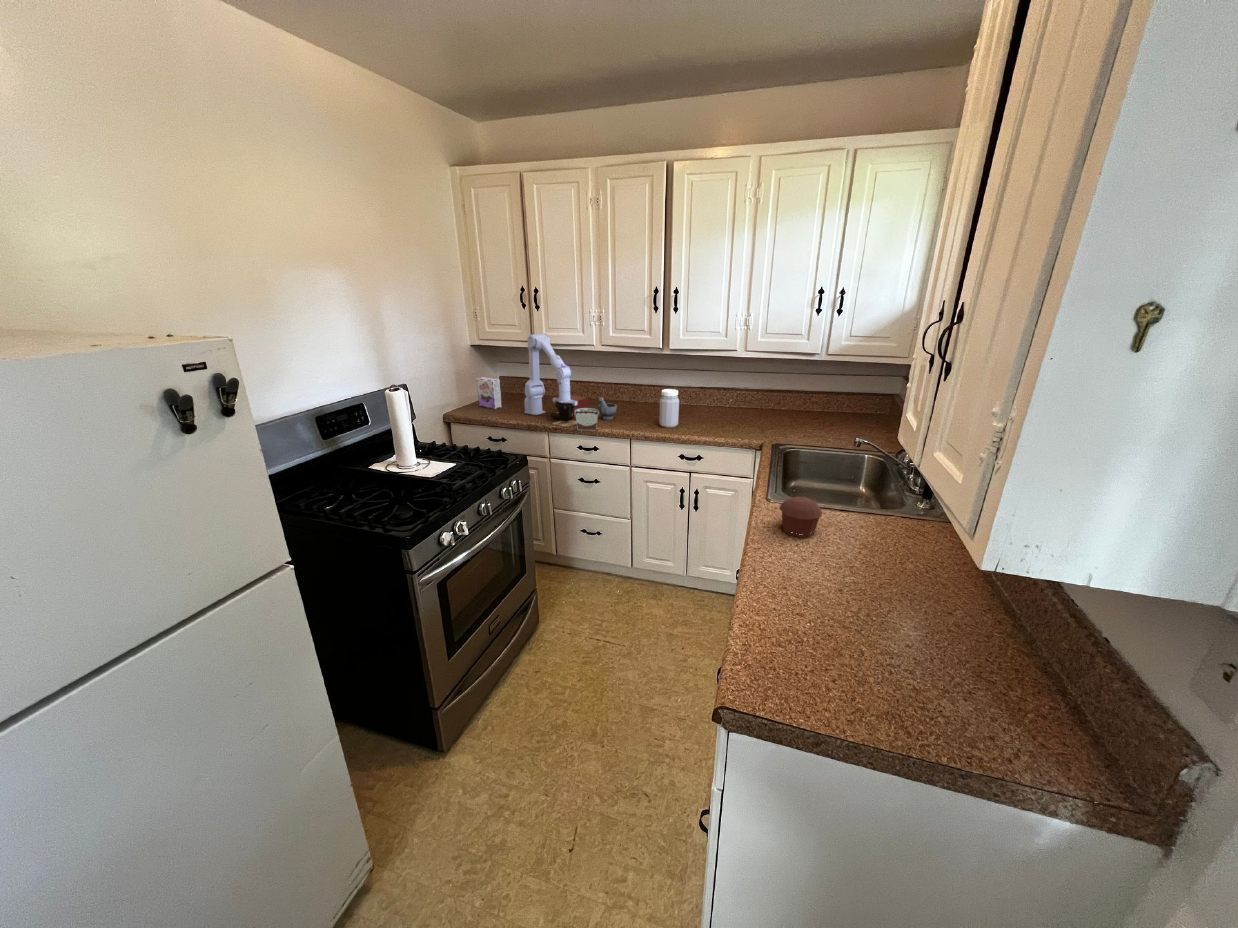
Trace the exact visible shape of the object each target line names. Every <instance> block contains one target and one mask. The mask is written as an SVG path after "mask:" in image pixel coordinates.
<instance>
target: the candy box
mask: <svg viewBox="0 0 1238 928" xmlns="http://www.w3.org/2000/svg"><path fill="white" fill-rule="evenodd" d="M475 379H476V380H475V381H476V389H477V399H478V406H479V407H483V408H487V409H493V410H497V409H501V408H503V405H502V394H501V393H502V391H501V380H500V379H498V378H491V377H487V376H486V377H485V376H481V377H476V378H475Z"/></svg>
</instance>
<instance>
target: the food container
mask: <svg viewBox="0 0 1238 928" xmlns="http://www.w3.org/2000/svg"><path fill="white" fill-rule="evenodd" d="M574 414H575V415H576V418H575V421H576V422H577V424H576V428H577V429H576V430H577V431H591V432H592V431H593V432H596V431H597V429H598V418H599V415H600V412H599V409H597V408H594V407H587V408H580V409H576V410H575V412H574Z"/></svg>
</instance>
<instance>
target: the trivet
mask: <svg viewBox="0 0 1238 928" xmlns="http://www.w3.org/2000/svg"><path fill="white" fill-rule="evenodd" d="M551 425H554V426H558V427H559V426H560V427H564V428H570V427H572V426H575V425H577V422H576V420H574V419H572V420H570V421H567V422H565V421H560V420H557V421H555V422H552V423H551Z"/></svg>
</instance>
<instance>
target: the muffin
mask: <svg viewBox="0 0 1238 928" xmlns="http://www.w3.org/2000/svg"><path fill="white" fill-rule="evenodd" d="M779 510H780V511H781V525H782V531H783V532H785V533H786V534H788V535H789V536H791V537H797V538H798V539H799V538H810V537H811V536H813V535H814V534H815V531H816V528H817V526H818V523H819V520H820V518H821V517H822V514H823V511H822V508H821V507H820V506H819V504H817V502H815V501H814V500H812V499H810V498H808V497H805V496H793V497H790V498H788V499H786V500H784V501H782V503H781V504H780V505H779ZM813 531H814V532H813ZM791 532H793V533H791ZM811 532H812V533H811ZM796 533H797V534H796ZM810 533H811V534H810ZM799 534H803V535H799Z"/></svg>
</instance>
